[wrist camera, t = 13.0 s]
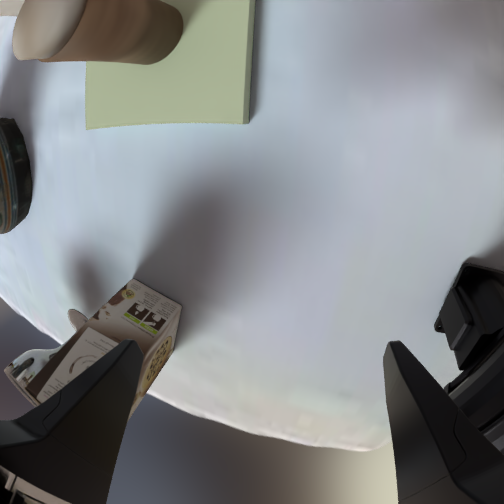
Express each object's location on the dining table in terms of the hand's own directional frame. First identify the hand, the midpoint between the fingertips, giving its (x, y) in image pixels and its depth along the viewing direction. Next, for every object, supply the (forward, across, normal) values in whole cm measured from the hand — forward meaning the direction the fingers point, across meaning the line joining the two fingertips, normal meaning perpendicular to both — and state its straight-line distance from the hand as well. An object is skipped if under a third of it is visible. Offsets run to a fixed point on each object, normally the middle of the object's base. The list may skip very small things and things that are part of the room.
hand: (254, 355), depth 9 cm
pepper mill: (+13, +7, -14) cm, 20 cm away
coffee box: (+14, +14, +12) cm, 23 cm away
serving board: (+14, +7, -14) cm, 21 cm away
